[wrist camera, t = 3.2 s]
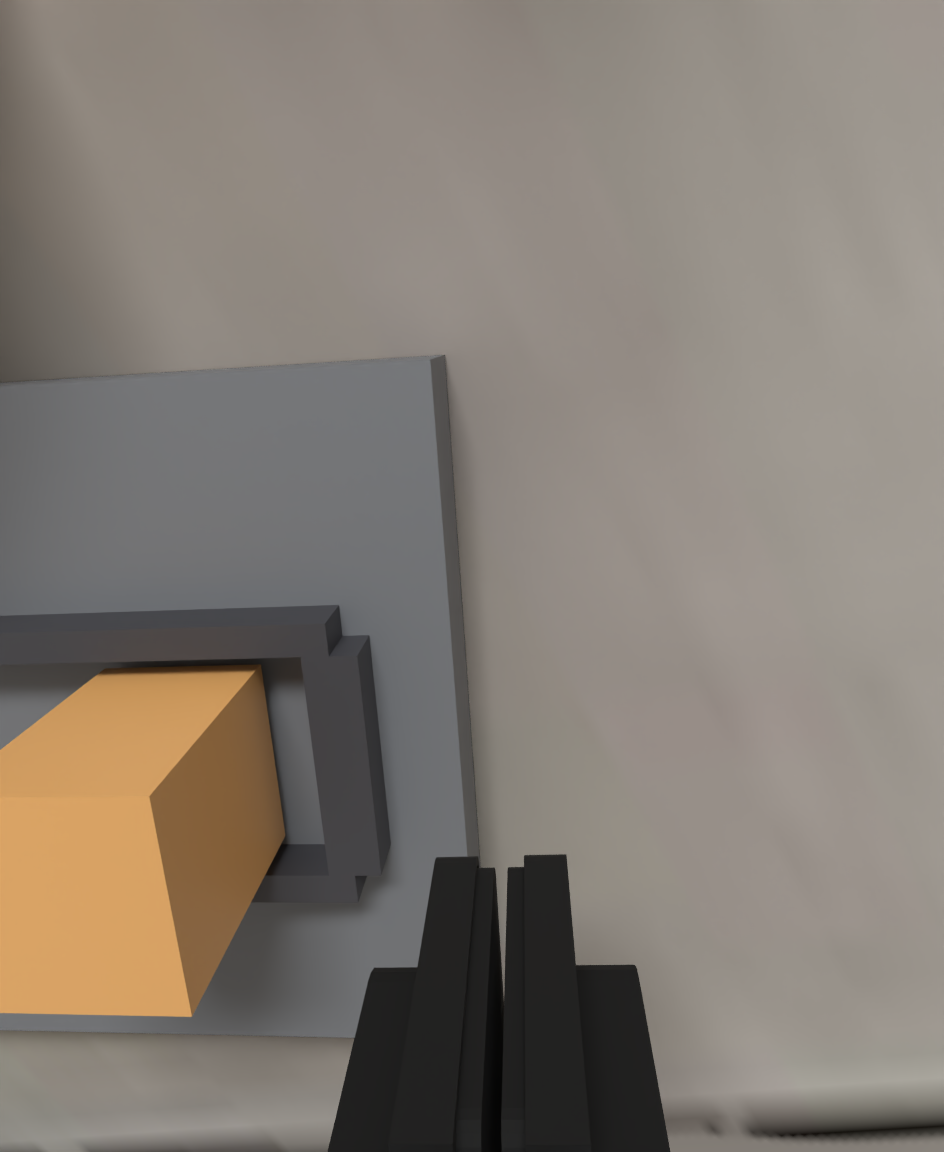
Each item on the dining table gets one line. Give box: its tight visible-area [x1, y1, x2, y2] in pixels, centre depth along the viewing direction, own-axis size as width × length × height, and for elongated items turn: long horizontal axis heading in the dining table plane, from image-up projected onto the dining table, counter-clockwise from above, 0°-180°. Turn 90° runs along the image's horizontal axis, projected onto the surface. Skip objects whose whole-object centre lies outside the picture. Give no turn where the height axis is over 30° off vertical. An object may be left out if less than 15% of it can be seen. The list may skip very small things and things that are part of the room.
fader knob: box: [0, 664, 285, 1017], centre depth 14 cm, size 3×4×4 cm
